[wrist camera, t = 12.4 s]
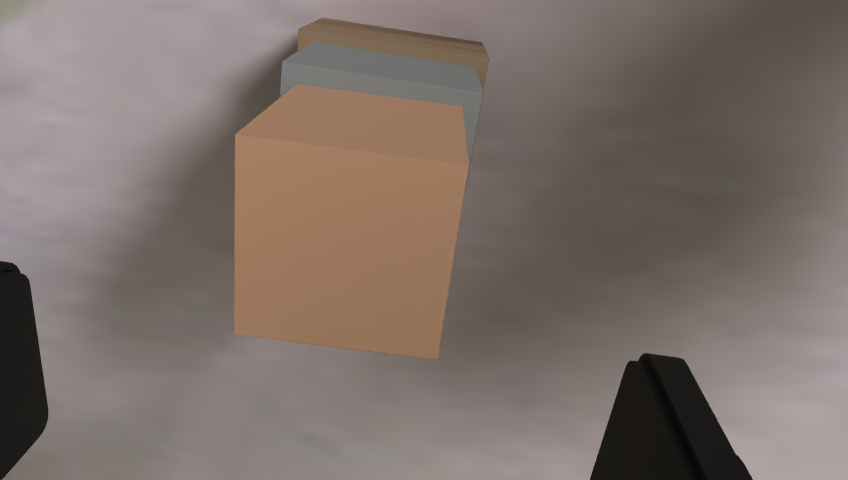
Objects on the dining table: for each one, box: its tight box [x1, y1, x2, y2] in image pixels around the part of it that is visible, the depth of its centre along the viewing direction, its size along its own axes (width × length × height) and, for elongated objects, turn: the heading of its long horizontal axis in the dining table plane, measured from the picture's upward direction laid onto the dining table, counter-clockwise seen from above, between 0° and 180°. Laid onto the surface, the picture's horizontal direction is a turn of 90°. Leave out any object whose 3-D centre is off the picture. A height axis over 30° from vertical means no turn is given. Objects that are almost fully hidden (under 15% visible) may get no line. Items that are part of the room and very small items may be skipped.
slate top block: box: [280, 41, 483, 193], centre depth 22 cm, size 6×6×5 cm
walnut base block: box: [297, 18, 489, 91], centre depth 27 cm, size 7×7×5 cm
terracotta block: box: [234, 84, 469, 360], centre depth 17 cm, size 5×5×6 cm
